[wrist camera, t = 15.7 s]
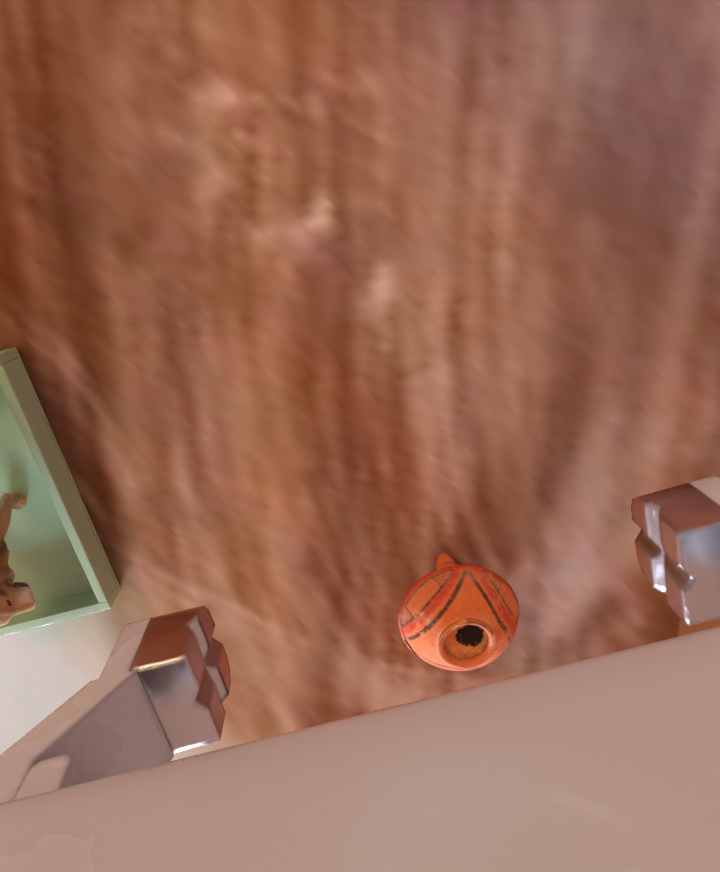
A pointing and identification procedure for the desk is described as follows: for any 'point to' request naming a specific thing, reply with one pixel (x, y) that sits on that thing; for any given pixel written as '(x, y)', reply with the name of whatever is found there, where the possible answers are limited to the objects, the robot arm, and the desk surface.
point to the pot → (459, 616)
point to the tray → (46, 513)
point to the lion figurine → (3, 593)
